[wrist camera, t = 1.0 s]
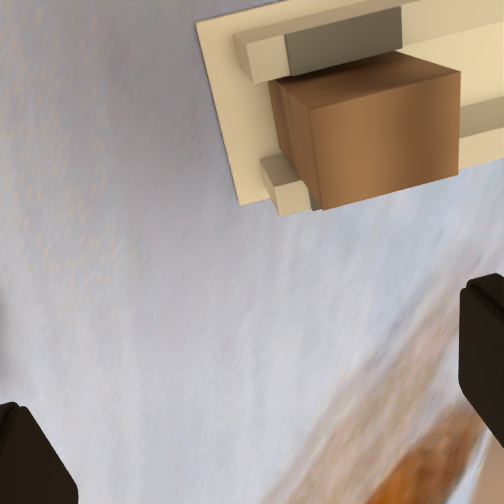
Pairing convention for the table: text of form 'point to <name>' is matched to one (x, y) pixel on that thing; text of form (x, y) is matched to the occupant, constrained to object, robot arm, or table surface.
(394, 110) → the block
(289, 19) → the chute
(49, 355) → the table surface
